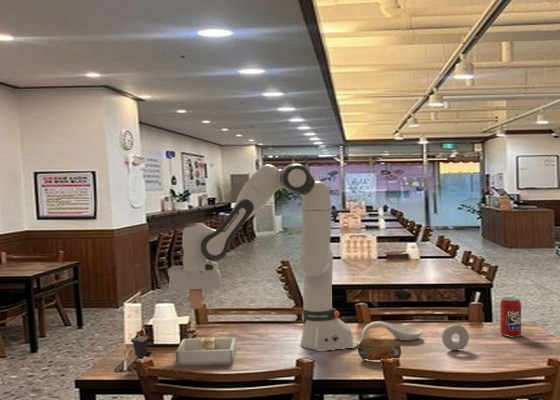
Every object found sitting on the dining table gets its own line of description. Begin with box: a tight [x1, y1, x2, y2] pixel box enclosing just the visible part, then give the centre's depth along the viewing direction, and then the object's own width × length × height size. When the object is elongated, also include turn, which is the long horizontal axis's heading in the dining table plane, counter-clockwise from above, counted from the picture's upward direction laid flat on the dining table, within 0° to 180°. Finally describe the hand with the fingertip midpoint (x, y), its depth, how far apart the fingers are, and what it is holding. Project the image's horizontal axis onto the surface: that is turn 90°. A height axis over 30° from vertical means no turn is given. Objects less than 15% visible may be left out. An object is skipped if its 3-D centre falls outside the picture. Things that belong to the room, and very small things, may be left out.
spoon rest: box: [361, 320, 423, 341], centre depth 230 cm, size 24×12×7 cm, turn 88°
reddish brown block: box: [188, 289, 204, 310], centre depth 222 cm, size 5×5×7 cm
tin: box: [357, 337, 402, 361], centre depth 203 cm, size 15×3×8 cm, turn 68°
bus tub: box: [175, 337, 237, 367], centre depth 211 cm, size 20×16×5 cm
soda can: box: [499, 296, 522, 337], centre depth 231 cm, size 8×8×15 cm
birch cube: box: [201, 336, 217, 350], centre depth 215 cm, size 5×5×5 cm
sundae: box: [130, 326, 151, 360], centre depth 202 cm, size 7×7×15 cm
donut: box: [441, 323, 470, 351], centre depth 213 cm, size 10×4×10 cm, turn 95°
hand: (196, 300), depth 222 cm, fingers closed on reddish brown block, 5 cm apart
